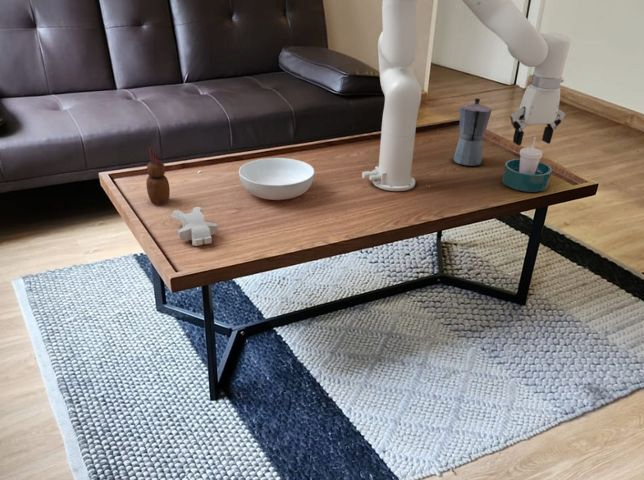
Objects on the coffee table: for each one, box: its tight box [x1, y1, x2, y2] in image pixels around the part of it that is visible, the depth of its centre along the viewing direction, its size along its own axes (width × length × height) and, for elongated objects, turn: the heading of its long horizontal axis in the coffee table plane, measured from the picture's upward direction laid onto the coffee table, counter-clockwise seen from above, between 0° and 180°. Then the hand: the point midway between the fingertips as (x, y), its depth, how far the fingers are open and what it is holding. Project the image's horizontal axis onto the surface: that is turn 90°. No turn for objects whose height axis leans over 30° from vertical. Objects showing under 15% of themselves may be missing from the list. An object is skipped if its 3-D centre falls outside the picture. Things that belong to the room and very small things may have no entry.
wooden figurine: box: [146, 145, 171, 206], centre depth 169 cm, size 7×6×15 cm
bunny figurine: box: [171, 206, 219, 247], centre depth 156 cm, size 10×5×15 cm
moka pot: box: [453, 98, 493, 167], centre depth 200 cm, size 10×15×20 cm, turn 174°
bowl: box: [501, 158, 553, 193], centre depth 190 cm, size 13×13×6 cm
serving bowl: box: [238, 157, 316, 201], centre depth 178 cm, size 21×21×7 cm
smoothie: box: [519, 135, 544, 175], centre depth 187 cm, size 6×6×14 cm
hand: (531, 142), depth 184 cm, fingers open, 9 cm apart
